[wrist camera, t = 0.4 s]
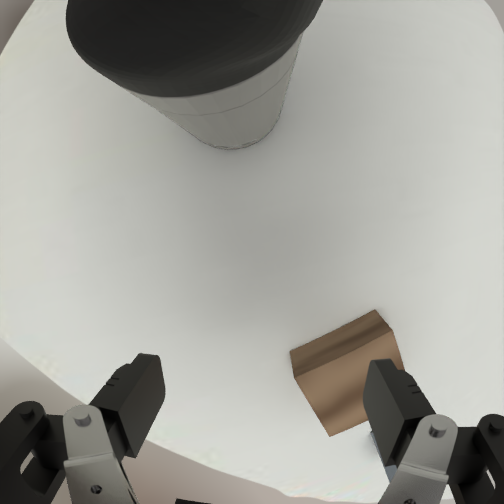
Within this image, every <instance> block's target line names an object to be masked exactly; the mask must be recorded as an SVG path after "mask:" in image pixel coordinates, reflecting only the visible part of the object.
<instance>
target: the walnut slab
mask: <svg viewBox="0 0 504 504" xmlns="http://www.w3.org/2000/svg"><path fill="white" fill-rule="evenodd" d="M290 355H291V361H292V368H293V374H294V379H295V380H296V382H297V384H298V385H299V387H300V389H301V390H302V392H303V394H304V395H305V397H306V399H307V400H308V402H309V404H310V405H311V407H312V409H313V410H314V412H315V414H316V415H317V417H318V419H319V420H320V422H321V424H322V425H323V427H324V428H325V430H326V432H327V433H328V435H329V437H331V436H333V435H335V434H338V433H340V432H343V431H345V430H347V429H350V428H352V427H354V426H357V425H359V424H361V423H363V422H365V421H367V420H368V417H367V414H366V412H365V409H364V406H363V391H364V386H365V382H366V377H367V372H368V368H369V363H370V361H371V360H375V359H387V358H390V359H391V360H392V361H393V363H394V364H395V366H396V368H397V369H398V370H401V369H403V370H404V371H405V369H404V366H403V362H402V359H401V356H400V352H399V349H398V346H397V343H396V340H395V336H394V333H393V330H392V329H391V328H390V327H389V325H388V324H387V323H386V322H385V321H384V319H383V318H382V317H381V316H380V315H379V313H378V312H377V311H376V310H373V311H371V312H369V313H367V314H365V315H364V316H362V317H360V318H358V319H356V320H354V321H352V322H350V323H348V324H346V325H344V326H342V327H340V328H338V329H336V330H334V331H332V332H330V333H328V334H326V335H324V336H322V337H320V338H318V339H315V340H313V341H311V342H309V343H307V344H305V345H303V346H300V347H298V348H296V349H294V350H291V351H290Z"/></svg>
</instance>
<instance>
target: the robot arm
mask: <svg viewBox="0 0 504 504" xmlns="http://www.w3.org/2000/svg"><path fill="white" fill-rule="evenodd" d="M322 1H323V0H68V4H67V9H66V27H67V32H68V36H69V39H70V41H71V43H72V45H73V47H74V49H75V50H76V52H77V53H78V55H79V56H80V57H81V58H82V59H83V60H84V61H85V62H86V63H87V64H88V65H89V66H91V67H92V68H93V69H95V70H96V71H97V72H99V73H100V74H102V75H103V76H105V77H107V78H108V79H110V80H111V81H113V82H115V83H116V84H118V85H119V86H121V87H122V88H124V89H125V90H127V91H128V92H130V93H131V94H133V95H134V96H136V97H138V98H139V99H141V100H142V101H144V102H145V103H147V104H149V105H150V106H152V107H153V108H155V109H156V110H157V111H159V112H160V113H162V114H163V115H165V116H166V117H168V118H169V119H171V120H172V121H174V122H175V123H176V124H178V125H179V126H181V127H182V128H184V129H185V130H186V131H188V132H189V133H191V134H192V135H194V136H195V137H196V138H198V139H199V140H201V141H202V142H204V143H205V144H208V145H210V146H213V147H215V148H221V149H239V148H244V147H247V146H250V145H252V144H254V143H256V142H258V141H259V140H261V139H262V138H264V137H265V136H266V135H267V134H268V133H269V132H270V131H271V130H272V129H273V127H274V125H275V124H276V122H277V120H278V117H279V114H280V112H281V108H282V105H283V102H284V98H285V95H286V91H287V88H288V84H289V81H290V77H291V74H292V70H293V67H294V63H295V60H296V56H297V53H298V48H299V45H300V42H301V38H302V35H303V31H304V30H305V29H306V28H307V27H308V26H309V24H310V23H311V22H312V20H313V19H314V17H315V15H316V13H317V11H318V9H319V7H320V5H321V3H322ZM164 399H165V383H164V378H163V372H162V367H161V361H160V358H159V356H158V355H151V354H143V353H139V354H138V355H137V356H136V358H135V359H134V360H133V362H132V363H131V364H125V365H123V366H122V367H120V368H118V369H117V370H116V371H115V372H114V374H113V375H112V376H111V379H109V380H108V381H107V382H106V385H104V386H103V387H102V389H101V390H100V391H99V392H98V394H97V395H96V396H95V397H94V399H93V400H92V401H91V402H90V404H89V405H78V406H75V407H72V408H71V409H69V410H68V411H67V412H66V413H65V414H64V416H62V415H48V414H46V413H45V410H44V408H43V406H42V405H41V404H40V403H38V402H35V401H26V402H22V403H20V404H18V405H17V406H15V407H14V408H13V409H12V411H11V412H10V413H9V414H8V415H7V416H6V417H5V418H4V419H3V421H2V422H1V423H0V504H51V502H52V500H53V499H54V497H55V495H56V493H57V491H58V489H59V488H60V486H61V484H62V482H63V481H64V479H65V477H66V479H67V484H68V488H69V493H70V497H71V501H72V504H140V503H139V501H138V499H137V497H136V495H135V493H134V491H133V488H132V486H131V483H130V481H129V479H128V476H127V474H126V472H125V469H124V466H123V464H122V462H121V461H122V459H123V457H124V456H128V457H132V458H136V457H137V455H138V453H139V450H140V448H141V446H142V444H143V442H144V440H145V438H146V436H147V434H148V432H149V430H150V428H151V426H152V424H153V422H154V420H155V418H156V416H157V414H158V412H159V410H160V408H161V406H162V404H163V402H164ZM363 406H364V409H365V412H366V414H367V417H368V420H369V423H370V426H371V428H372V431H373V434H374V437H375V440H376V443H377V446H378V449H379V452H380V455H381V458H382V461H383V464H384V467H387V466H392V465H396V468H397V471H396V473H395V475H394V477H393V478H392V480H391V482H390V484H389V485H388V487H387V489H386V491H385V492H384V494H383V496H382V497H381V499H380V501H379V502H378V504H439V503H440V501H441V498H442V495H443V493H444V490H445V487H446V484H449V486H450V489H451V491H452V494H453V497H454V499H455V502H456V504H504V417H503V416H501V415H498V414H489V415H486V416H484V417H482V418H481V420H480V421H479V423H478V425H477V427H457V425H456V423H455V422H454V421H453V420H452V419H451V418H449V417H447V416H444V415H439V414H436V413H435V411H434V410H433V408H432V406H431V405H430V403H429V402H428V400H427V398H426V397H425V395H424V394H423V392H421V389H420V388H419V386H417V383H416V381H415V380H414V378H413V377H412V376H411V375H410V374H408V373H407V372H406V371H404V370H403V369H401V370H398V369H397V368H396V366H395V364H394V363H393V361H392V360H391V359H390V358H387V359H375V360H371V361H370V363H369V368H368V372H367V377H366V382H365V386H364V391H363ZM30 451H31V452H32V454H33V456H34V457H33V458H32V460H31V461H30V463H29V464H28V465H27V467H26V468H25V470H24V471H23V473H22V474H21V473H20V467H21V464H22V463H23V461H24V460H25V458H26V457H27V456H28V454H29V453H30ZM487 470H489V472H490V473H491V475H492V478H493V480H494V481H495V489H494V487H493V485H492V483H491V480H490V478H489V476H488V474H487V472H486V471H487ZM175 504H209V503H201V502H195V501H188V500H182V499H176V502H175Z"/></svg>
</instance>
